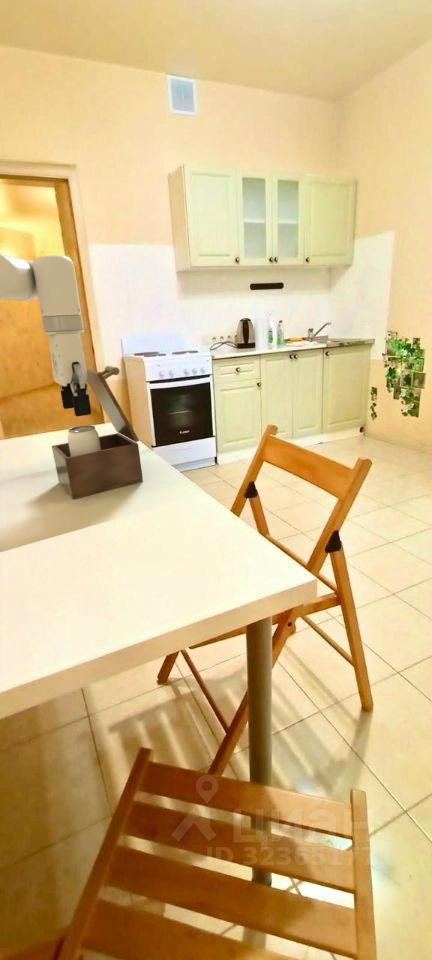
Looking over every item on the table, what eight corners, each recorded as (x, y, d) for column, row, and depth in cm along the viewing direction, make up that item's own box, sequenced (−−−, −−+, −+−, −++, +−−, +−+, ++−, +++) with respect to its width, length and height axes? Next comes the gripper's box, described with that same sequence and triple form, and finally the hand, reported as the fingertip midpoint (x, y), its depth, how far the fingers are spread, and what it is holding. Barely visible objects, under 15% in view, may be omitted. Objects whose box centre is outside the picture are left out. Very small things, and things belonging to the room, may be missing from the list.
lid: (97, 374, 88) (120, 360, 90) (80, 369, 98) (100, 357, 100) (136, 442, 96) (156, 429, 98) (116, 431, 106) (135, 419, 108)
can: (70, 485, 98) (60, 432, 93) (84, 475, 104) (75, 425, 99) (97, 486, 96) (88, 432, 92) (110, 475, 102) (102, 424, 98)
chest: (72, 499, 92) (65, 459, 89) (59, 482, 103) (51, 445, 100) (143, 481, 100) (138, 443, 96) (123, 467, 110) (118, 432, 107)
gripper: (35, 326, 94) (49, 407, 100) (53, 327, 80) (69, 421, 86) (71, 324, 97) (83, 403, 103) (95, 324, 83) (107, 415, 89)
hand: (77, 411), depth 94 cm, fingers open, 9 cm apart
